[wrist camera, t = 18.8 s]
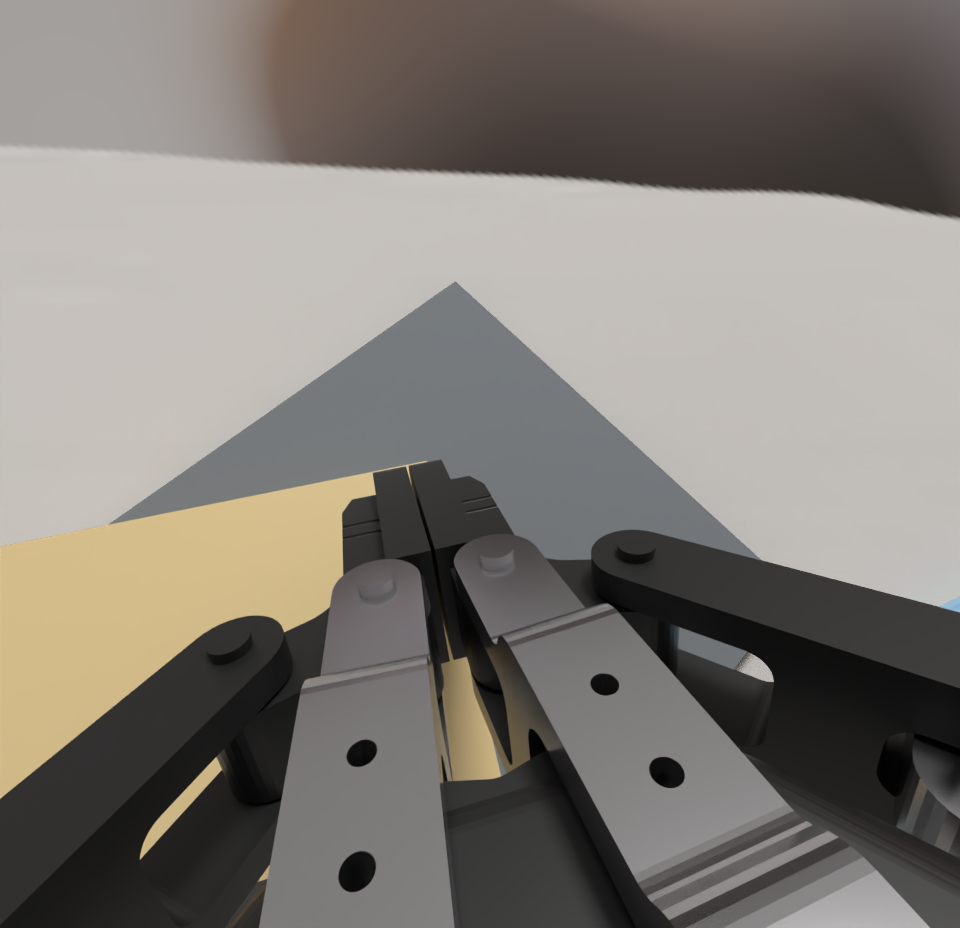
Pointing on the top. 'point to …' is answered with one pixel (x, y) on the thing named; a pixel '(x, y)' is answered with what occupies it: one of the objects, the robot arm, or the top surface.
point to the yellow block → (174, 616)
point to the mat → (461, 443)
